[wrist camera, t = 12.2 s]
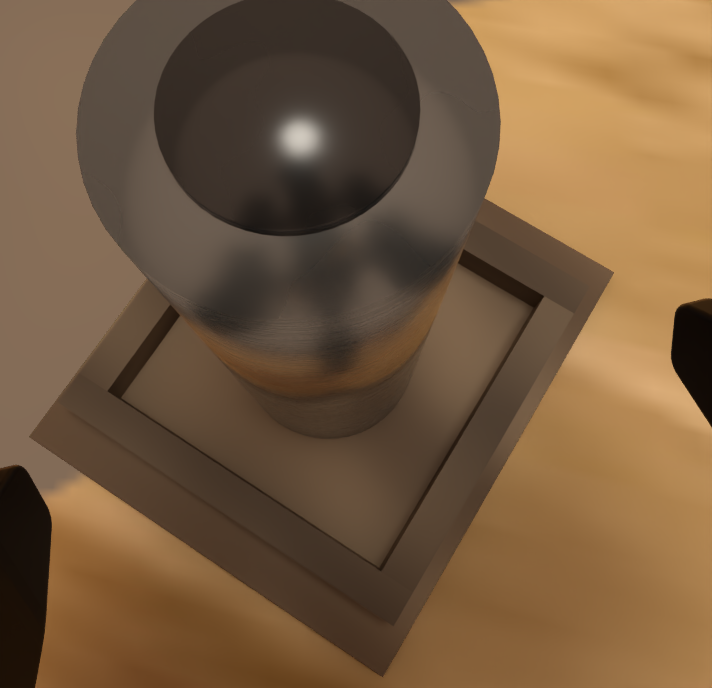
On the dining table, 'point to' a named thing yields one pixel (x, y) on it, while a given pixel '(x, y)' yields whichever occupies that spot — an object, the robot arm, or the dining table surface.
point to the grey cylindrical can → (295, 184)
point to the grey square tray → (333, 441)
